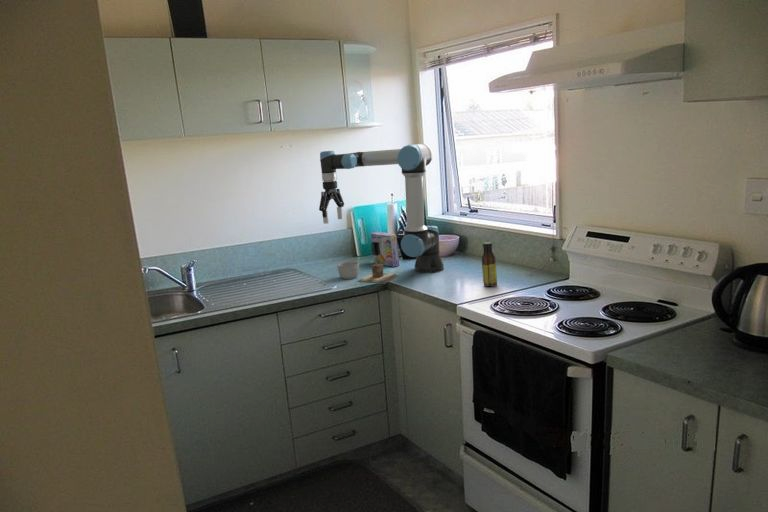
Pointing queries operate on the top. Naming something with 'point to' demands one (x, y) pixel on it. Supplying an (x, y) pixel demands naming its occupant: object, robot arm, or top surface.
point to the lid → (378, 275)
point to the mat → (380, 282)
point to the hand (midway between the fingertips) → (333, 221)
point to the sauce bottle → (489, 265)
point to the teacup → (348, 269)
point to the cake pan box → (384, 248)
